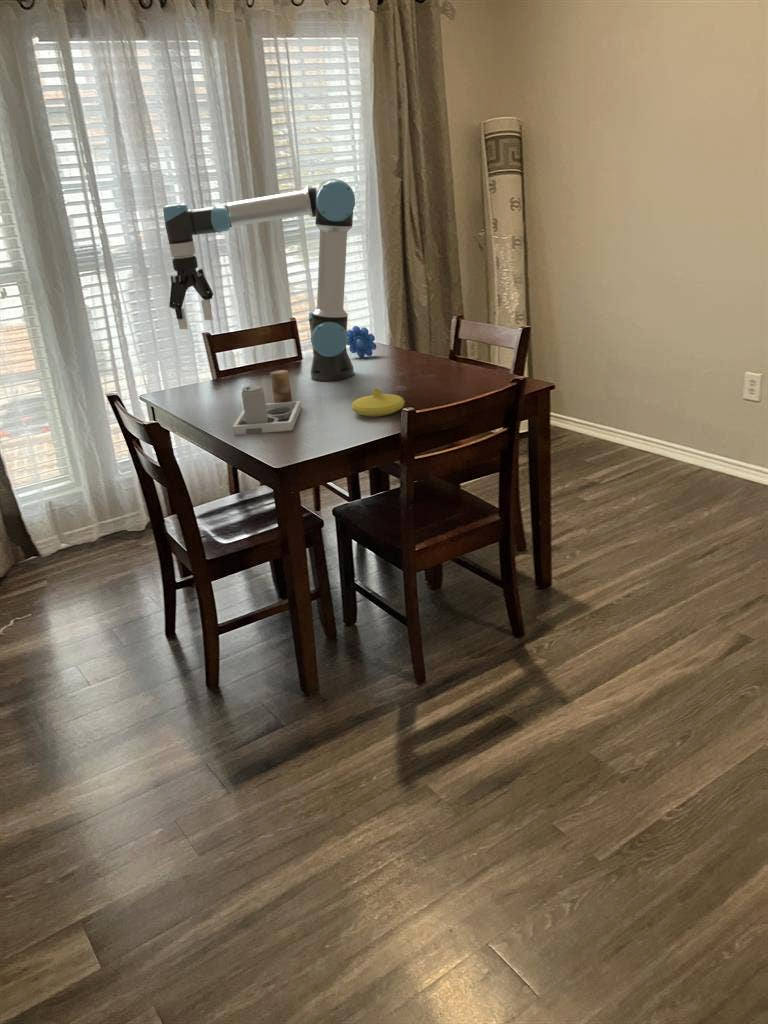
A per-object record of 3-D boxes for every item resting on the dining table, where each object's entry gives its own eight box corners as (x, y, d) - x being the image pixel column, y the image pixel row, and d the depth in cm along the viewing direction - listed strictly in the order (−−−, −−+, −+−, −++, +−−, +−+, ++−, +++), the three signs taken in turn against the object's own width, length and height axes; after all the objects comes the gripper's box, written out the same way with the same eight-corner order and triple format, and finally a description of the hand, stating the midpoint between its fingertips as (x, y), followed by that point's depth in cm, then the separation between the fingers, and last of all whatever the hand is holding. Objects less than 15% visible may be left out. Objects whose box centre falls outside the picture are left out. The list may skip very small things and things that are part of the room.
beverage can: (247, 425, 256) (241, 385, 252) (269, 422, 257) (263, 383, 252) (246, 431, 250) (239, 391, 246) (268, 429, 251) (262, 388, 246)
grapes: (345, 361, 322) (341, 329, 317) (347, 357, 328) (344, 325, 324) (376, 359, 321) (373, 326, 316) (378, 354, 327) (375, 323, 322)
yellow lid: (354, 407, 264) (351, 385, 261) (405, 403, 263) (403, 380, 260) (350, 423, 249) (348, 399, 246) (405, 418, 248) (403, 395, 245)
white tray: (301, 408, 268) (300, 400, 267) (292, 430, 247) (291, 422, 246) (247, 413, 269) (246, 405, 268) (233, 435, 248) (232, 426, 247)
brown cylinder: (293, 403, 274) (289, 369, 270) (291, 408, 269) (286, 373, 265) (276, 404, 274) (271, 370, 270) (273, 409, 269) (268, 375, 265)
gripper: (197, 251, 282) (209, 316, 290) (148, 263, 262) (163, 333, 270) (216, 250, 279) (227, 316, 287) (168, 262, 259) (182, 332, 267)
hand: (196, 324), depth 279 cm, fingers open, 13 cm apart
